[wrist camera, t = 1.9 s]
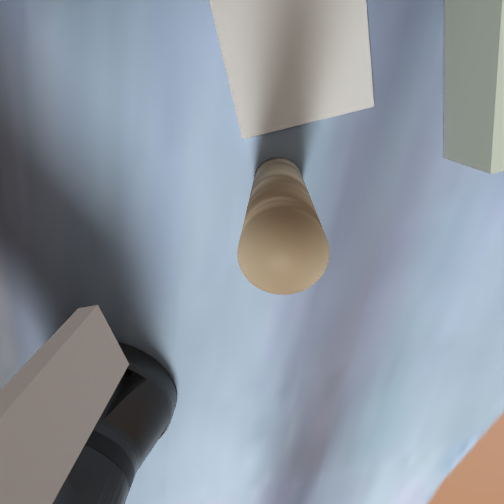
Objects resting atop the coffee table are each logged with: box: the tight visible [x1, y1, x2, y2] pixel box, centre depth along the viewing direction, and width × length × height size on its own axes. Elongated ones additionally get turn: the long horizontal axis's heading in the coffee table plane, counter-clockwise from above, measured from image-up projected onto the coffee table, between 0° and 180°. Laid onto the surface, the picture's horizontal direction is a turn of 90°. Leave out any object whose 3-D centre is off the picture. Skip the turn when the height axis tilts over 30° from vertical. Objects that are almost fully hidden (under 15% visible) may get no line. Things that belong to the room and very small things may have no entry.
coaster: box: [209, 0, 374, 139], centre depth 22 cm, size 10×10×1 cm
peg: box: [238, 158, 329, 294], centre depth 20 cm, size 4×4×14 cm
